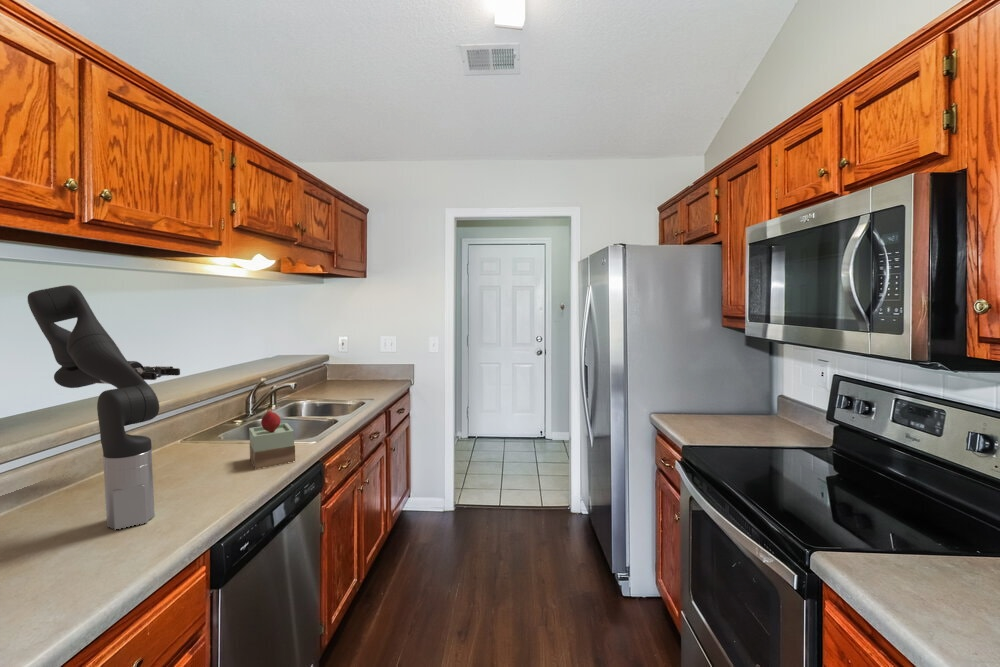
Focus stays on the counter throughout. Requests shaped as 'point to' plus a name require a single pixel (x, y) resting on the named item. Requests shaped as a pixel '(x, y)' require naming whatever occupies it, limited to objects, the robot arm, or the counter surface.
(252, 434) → the tower top
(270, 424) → the onion
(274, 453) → the tower base
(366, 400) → the counter surface
